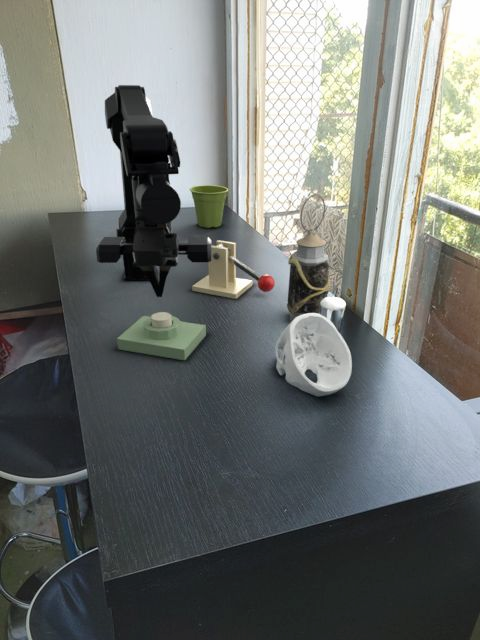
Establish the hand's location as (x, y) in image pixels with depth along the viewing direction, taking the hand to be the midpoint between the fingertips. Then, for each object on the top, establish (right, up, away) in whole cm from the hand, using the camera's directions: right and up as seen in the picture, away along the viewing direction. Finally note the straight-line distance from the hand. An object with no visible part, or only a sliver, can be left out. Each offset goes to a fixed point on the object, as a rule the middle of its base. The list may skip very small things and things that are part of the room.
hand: (159, 296), depth 92 cm
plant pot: (+2, +30, +73) cm, 79 cm away
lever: (+13, +7, +24) cm, 29 cm away
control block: (0, -8, +4) cm, 9 cm away
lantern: (+27, -3, +14) cm, 31 cm away
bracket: (+9, +5, +28) cm, 30 cm away
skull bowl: (+26, -15, -6) cm, 30 cm away
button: (0, -5, +3) cm, 6 cm away
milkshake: (+31, -8, +6) cm, 32 cm away
